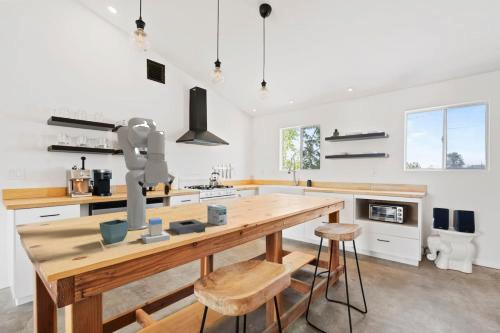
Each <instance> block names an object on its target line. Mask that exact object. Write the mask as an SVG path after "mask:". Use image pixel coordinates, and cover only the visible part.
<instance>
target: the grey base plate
mask: <svg viewBox="0 0 500 333" xmlns="http://www.w3.org/2000/svg"><path fill="white" fill-rule="evenodd" d="M148 235H149V232H145V233H144V232H143V233H140V239H141V240H142V241H143V242H144V243H145V244H148V245H149V244H152V243H158V242H159V243H160V242H165V241H169V240H170V238H171V235H170V234H169V233H167V232H165V231H164V230H162V235H160V236H154V237H150V236H148Z"/></svg>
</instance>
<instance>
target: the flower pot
mask: <svg viewBox="0 0 500 333" xmlns="http://www.w3.org/2000/svg"><path fill="white" fill-rule="evenodd" d="M98 225H99V231H100V235H101V237H102V239H103V241H104V242H105V243H107V244H111V245H113V244H117V243H121V242H123V241H125V239H126V237H127V235H128V231H129V230H128V225H129V222H128V221H123V220H122V219H112V220H108V221H103V222H99V224H98Z"/></svg>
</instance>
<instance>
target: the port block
mask: <svg viewBox="0 0 500 333" xmlns="http://www.w3.org/2000/svg"><path fill="white" fill-rule="evenodd" d="M168 224H169V225H168V226H169V227H168V229H169V230H170V231H172V232H174V233H175V234H177V235H179V236H181V235H186V234H192V233H196V234H199V233H205V232H206V223H204V222H202V221H199V220H197V219H194V218H192V219H186V220H185V219H184V220H177V221H176V220H175V221H169V223H168Z"/></svg>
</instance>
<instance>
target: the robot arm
mask: <svg viewBox="0 0 500 333" xmlns="http://www.w3.org/2000/svg"><path fill="white" fill-rule="evenodd" d="M116 133H117V134H116V138H117V142H118V145H119V146H120V148H121V150H122V151H123V156H124V157H123V158H124V163H125V168H126V169H127V170H128V171H127V172H126V174H125V177H124V178H125V185H126V219H121V220H123V221H128V222H129V225H128V231H136V230H137V231H139V230H144V229H147V228H149V222H148V223H147V188H153V187H157V186H159V184H161V183H163V184H164V185H165V186H164V191H163V192H164V195H166V196H168V195H169V194H170V187H171V185H172V184H173V182H174V180H175V178H176V177H175V176H174V175H172V174H170V173H169V167H168V163H167V161H166V160H165V158H166V157H165V151H166V149H165V147H166V146H165V145H166V144H165V143H166V142H165V140H166V137H165V132H163V131H160V130H157V124H156V121H155V120H153V119H150V118H145V117H131V118H129V120H128V121H127V125H125V126H121V127H119V128H117V131H116ZM139 148H142V149H146V154H141V152H140V149H139ZM169 178H170V180H169Z"/></svg>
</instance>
